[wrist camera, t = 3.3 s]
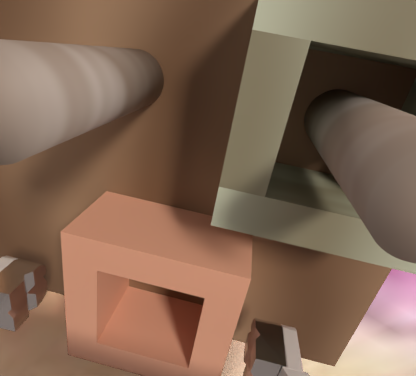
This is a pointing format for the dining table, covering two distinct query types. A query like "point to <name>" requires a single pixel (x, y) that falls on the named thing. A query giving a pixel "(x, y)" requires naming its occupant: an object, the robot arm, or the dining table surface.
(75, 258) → the chunky salmon square frame
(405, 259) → the wooden peg board
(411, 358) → the dining table surface
